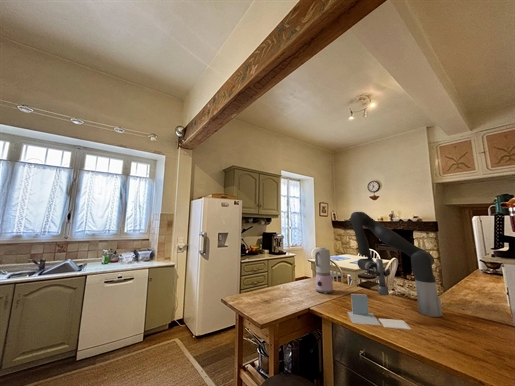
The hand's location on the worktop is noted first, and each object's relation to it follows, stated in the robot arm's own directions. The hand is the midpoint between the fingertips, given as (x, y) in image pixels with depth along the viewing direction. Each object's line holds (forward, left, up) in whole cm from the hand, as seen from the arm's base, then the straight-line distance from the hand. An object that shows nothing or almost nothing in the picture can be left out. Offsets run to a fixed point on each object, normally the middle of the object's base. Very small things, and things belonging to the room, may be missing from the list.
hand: (382, 274), depth 111 cm
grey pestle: (0, -3, -11) cm, 11 cm away
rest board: (-1, +6, -22) cm, 23 cm away
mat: (+12, +2, -22) cm, 26 cm away
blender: (+29, -41, -23) cm, 55 cm away
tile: (+12, -3, -22) cm, 25 cm away
